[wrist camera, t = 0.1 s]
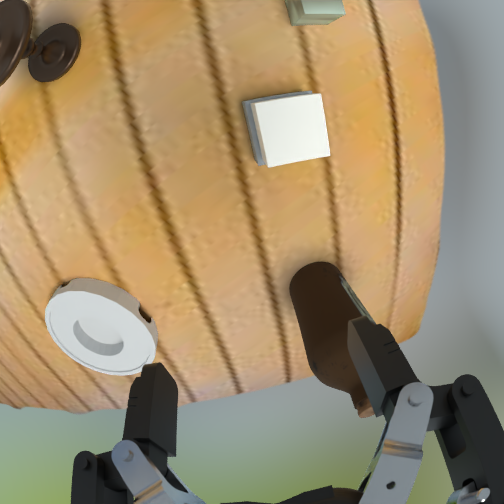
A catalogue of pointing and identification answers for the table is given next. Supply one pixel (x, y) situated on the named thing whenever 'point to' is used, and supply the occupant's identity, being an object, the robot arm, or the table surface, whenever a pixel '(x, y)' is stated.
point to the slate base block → (251, 122)
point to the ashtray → (101, 327)
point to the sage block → (314, 11)
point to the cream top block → (291, 129)
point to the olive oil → (329, 328)
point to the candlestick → (35, 44)
